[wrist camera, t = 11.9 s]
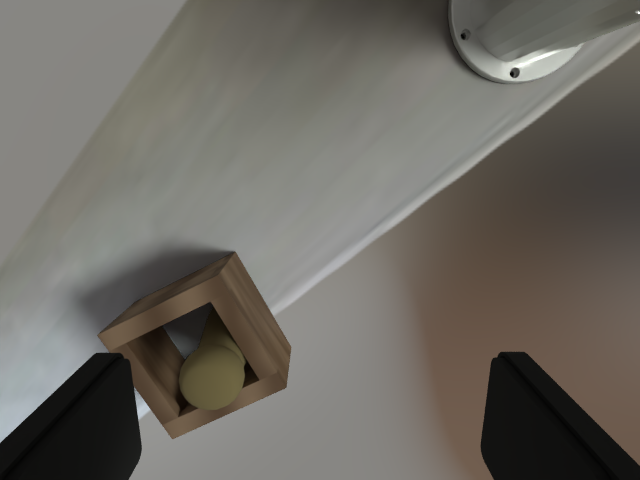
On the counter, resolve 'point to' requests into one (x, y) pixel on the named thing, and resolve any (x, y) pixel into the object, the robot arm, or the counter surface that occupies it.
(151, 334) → the box
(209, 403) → the cork
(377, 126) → the counter surface
